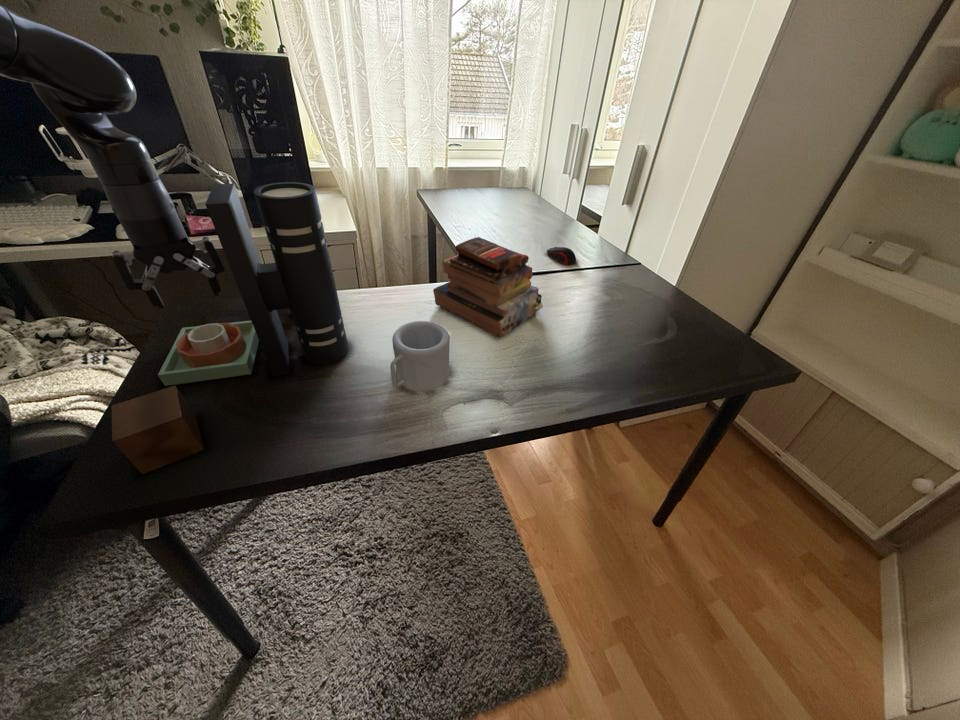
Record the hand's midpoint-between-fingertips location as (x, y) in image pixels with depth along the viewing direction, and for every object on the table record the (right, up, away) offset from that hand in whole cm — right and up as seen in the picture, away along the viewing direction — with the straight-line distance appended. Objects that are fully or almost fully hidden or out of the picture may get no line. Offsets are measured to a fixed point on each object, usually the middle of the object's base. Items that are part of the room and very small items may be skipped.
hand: (189, 300), depth 69 cm
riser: (+4, -25, -9) cm, 27 cm away
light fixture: (+18, -10, +11) cm, 23 cm away
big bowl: (-1, -10, +8) cm, 13 cm away
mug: (+41, -15, +7) cm, 45 cm away
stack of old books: (+56, +2, +28) cm, 63 cm away
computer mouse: (+81, +23, +57) cm, 102 cm away
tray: (-1, -10, +9) cm, 13 cm away
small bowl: (-1, -9, +8) cm, 12 cm away
